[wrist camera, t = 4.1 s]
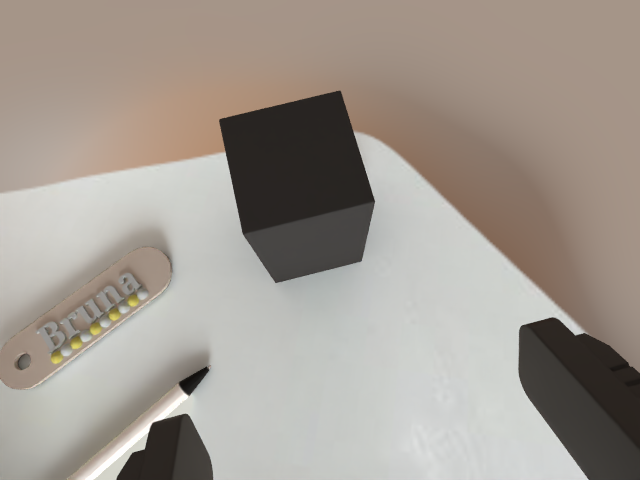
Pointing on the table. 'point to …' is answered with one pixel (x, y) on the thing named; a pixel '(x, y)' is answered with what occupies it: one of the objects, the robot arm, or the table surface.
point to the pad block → (299, 185)
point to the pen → (139, 427)
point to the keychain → (85, 317)
